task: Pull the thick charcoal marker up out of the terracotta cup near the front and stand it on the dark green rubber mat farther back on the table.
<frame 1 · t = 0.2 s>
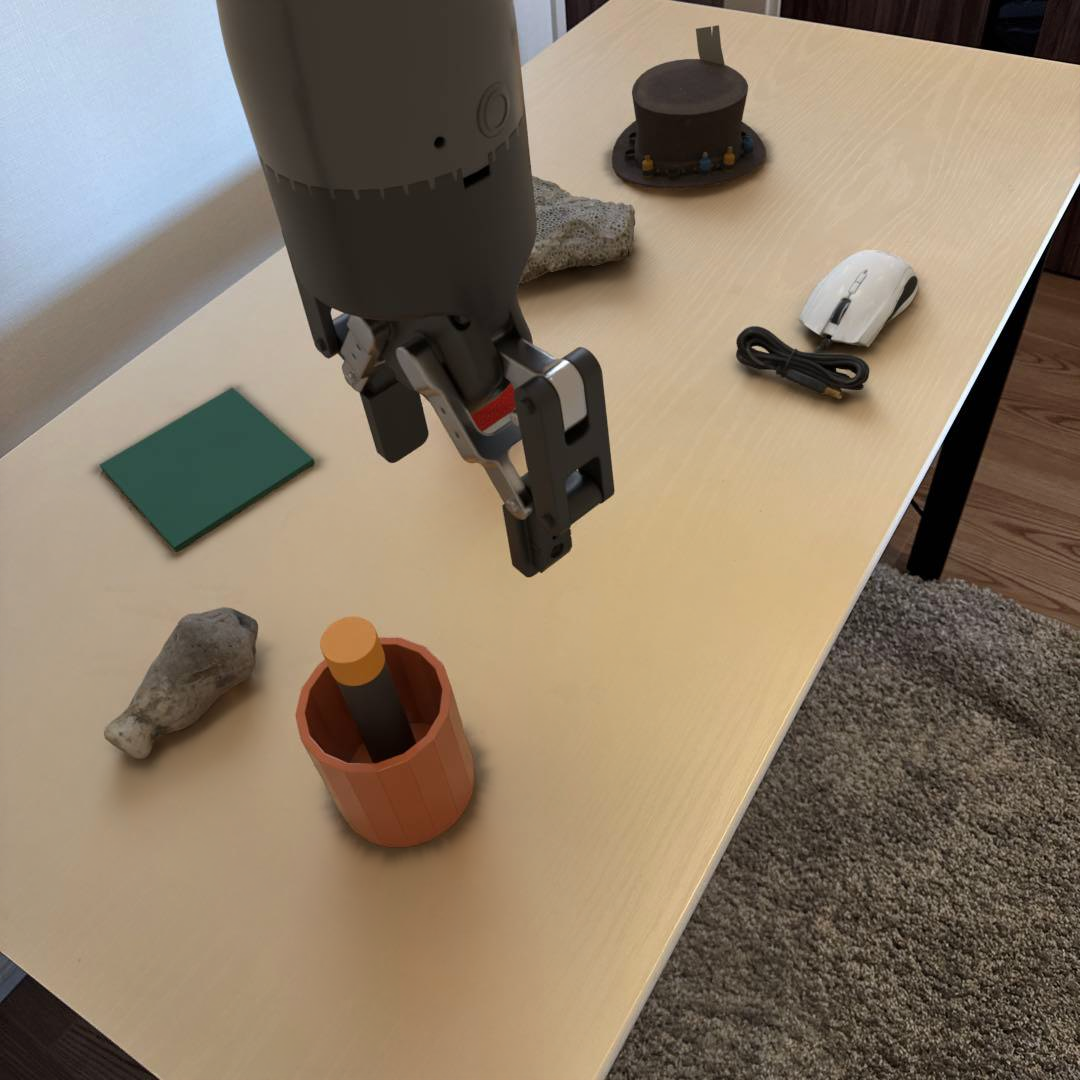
hand: (469, 502, 40), 24 cm above the table, tool pointing down, fingers open, 8 cm apart
stone: (202, 702, 64), on the table
strawberry: (485, 434, 78), on the table
marker: (404, 776, 59), point 1 cm above the table, touching pen cup
mat: (207, 466, 78), on the table
computer mouse: (841, 328, 82), on the table
rock: (545, 252, 92), on the table
pen cup: (406, 781, 59), on the table
top hat: (687, 158, 100), on the table
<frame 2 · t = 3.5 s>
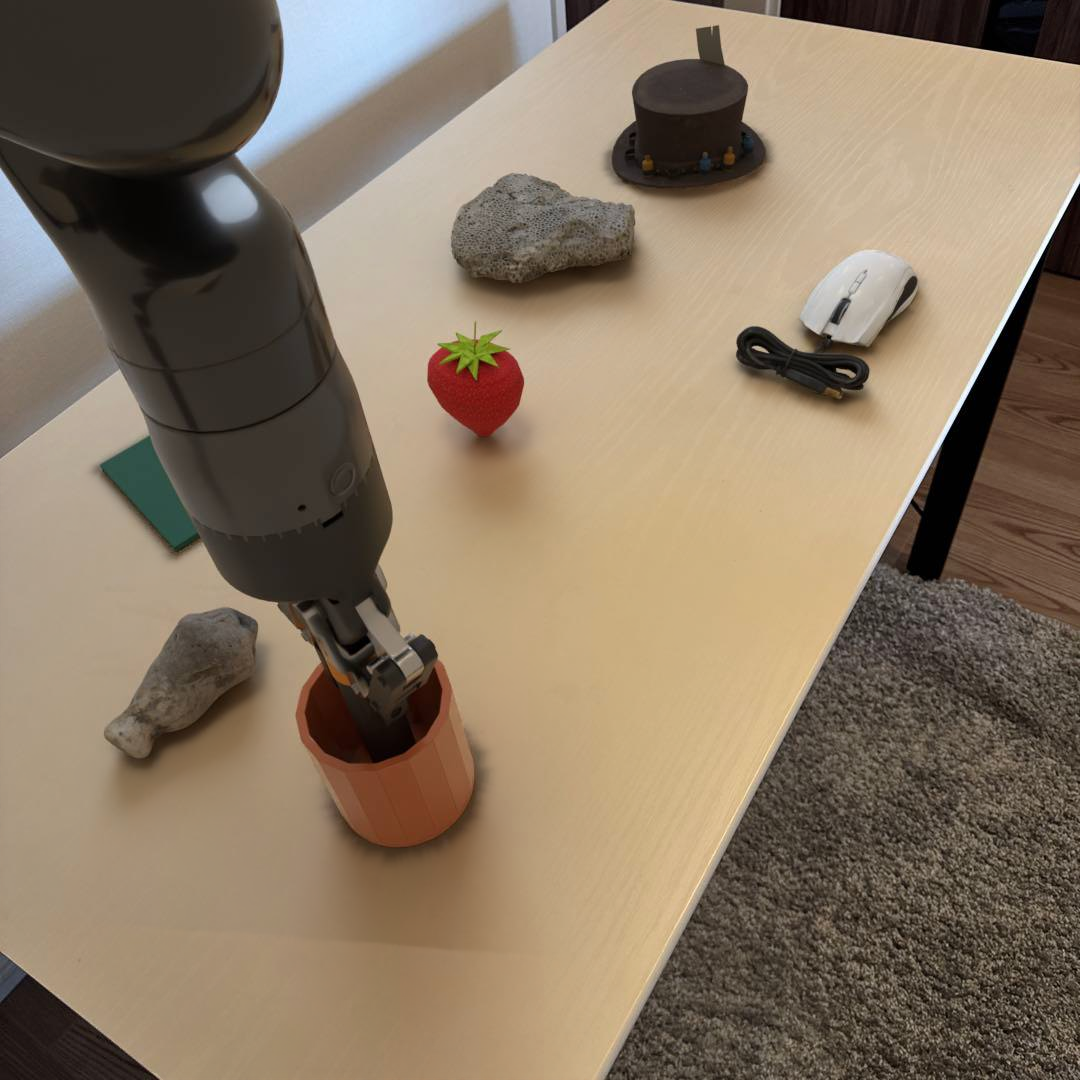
hand: (370, 694, 52), 10 cm above the table, tool pointing down, fingers closed on marker, 2 cm apart
marker: (404, 776, 59), point 1 cm above the table, touching gripper, pen cup
everything else where it was.
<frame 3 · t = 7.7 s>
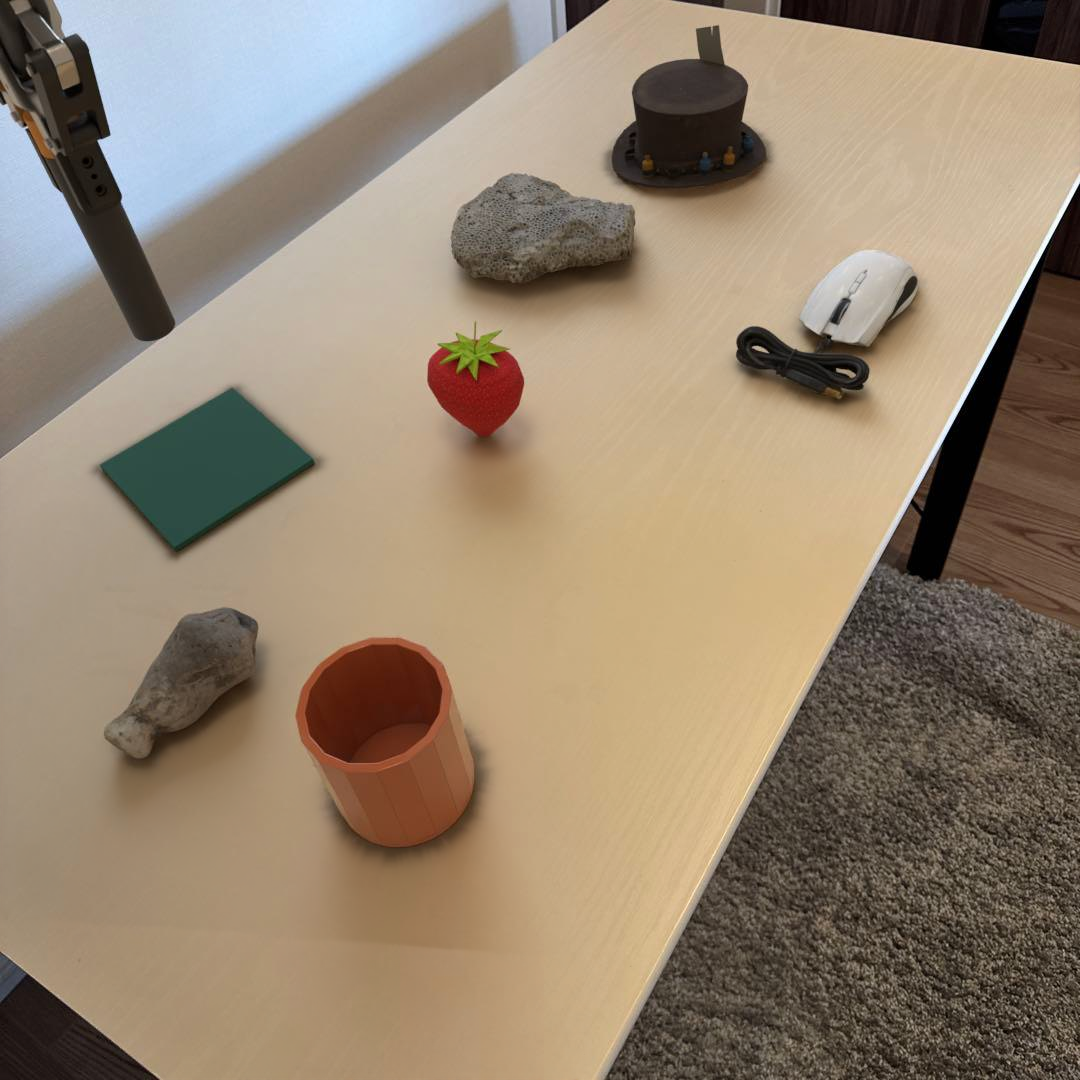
hand: (90, 195, 55), 25 cm above the table, tool pointing down, fingers closed on marker, 2 cm apart
marker: (154, 328, 62), point 16 cm above the table, touching gripper
everything else where it was.
when the fingers open (10 cm above the table, at t = 12.0 s): marker stays where it is, resting on mat.
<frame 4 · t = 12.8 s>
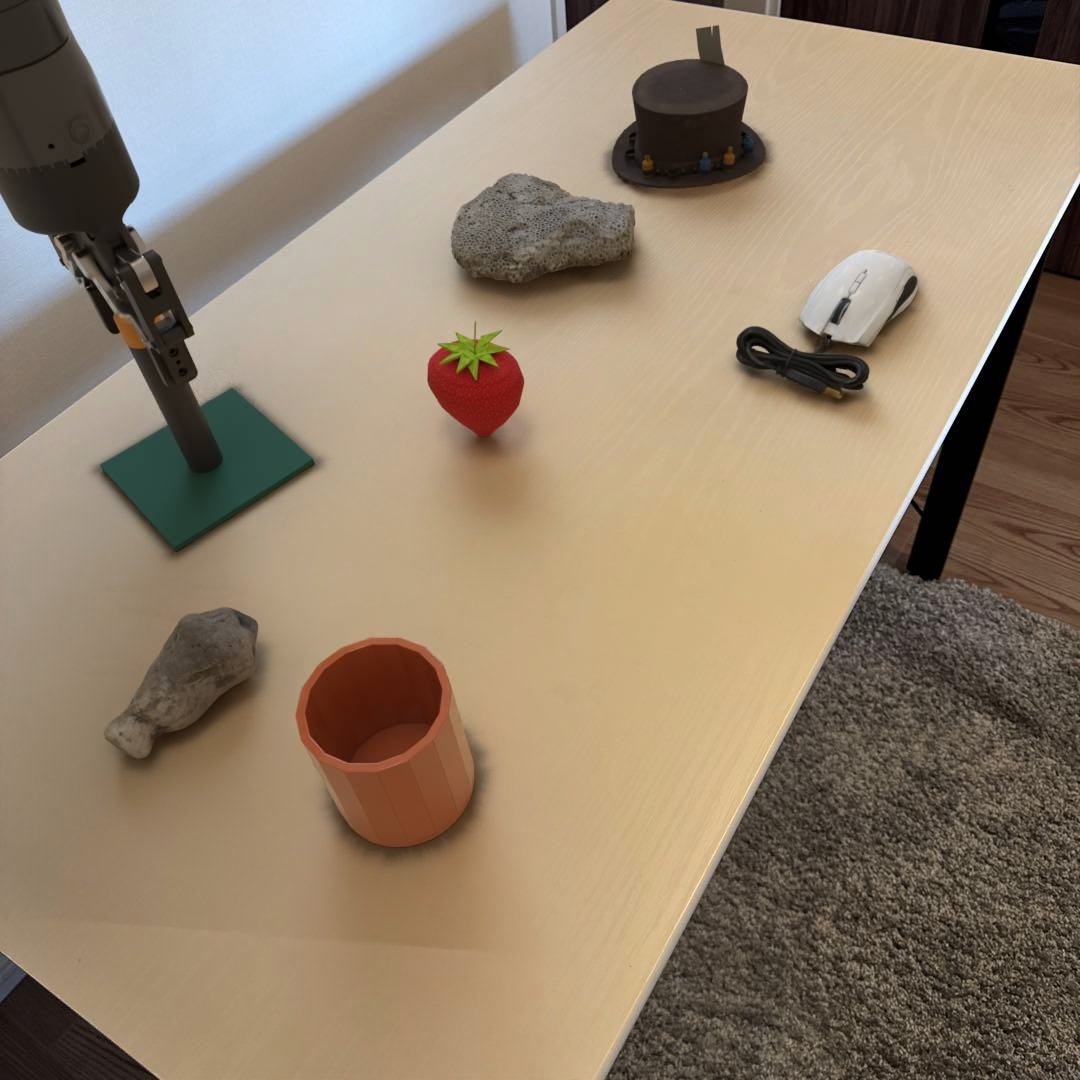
hand: (152, 353, 69), 11 cm above the table, tool pointing down, fingers open, 8 cm apart
marker: (205, 461, 78), resting on mat
everything else where it was.
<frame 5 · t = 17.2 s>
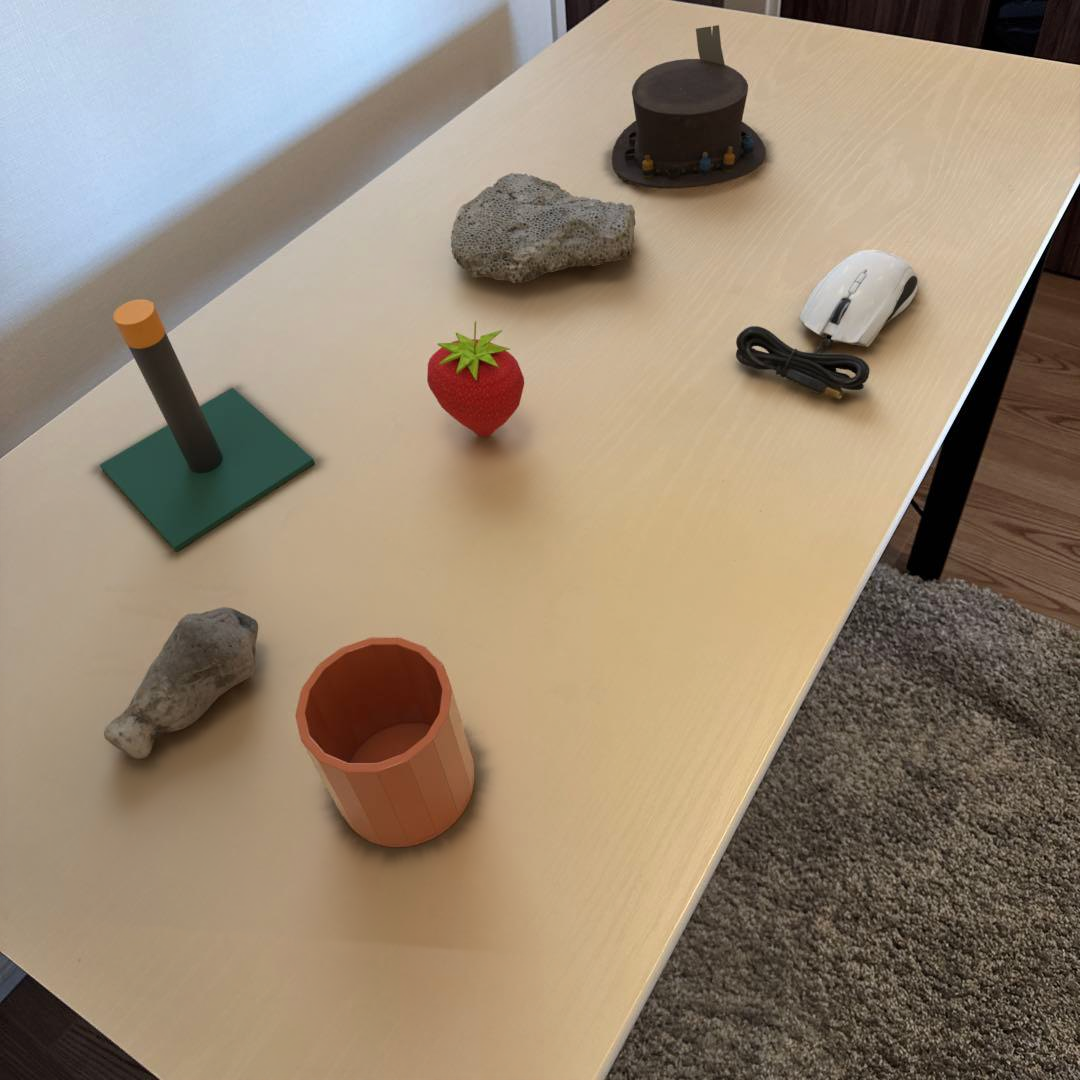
nothing on the table moved.
at the end: marker inside the target area on the mat (0.1 cm from its centre), point 0.5 cm above the mat's base; the gripper is holding nothing; marker inside the target area (0.1 cm from its centre), point 0.5 cm above the table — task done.
